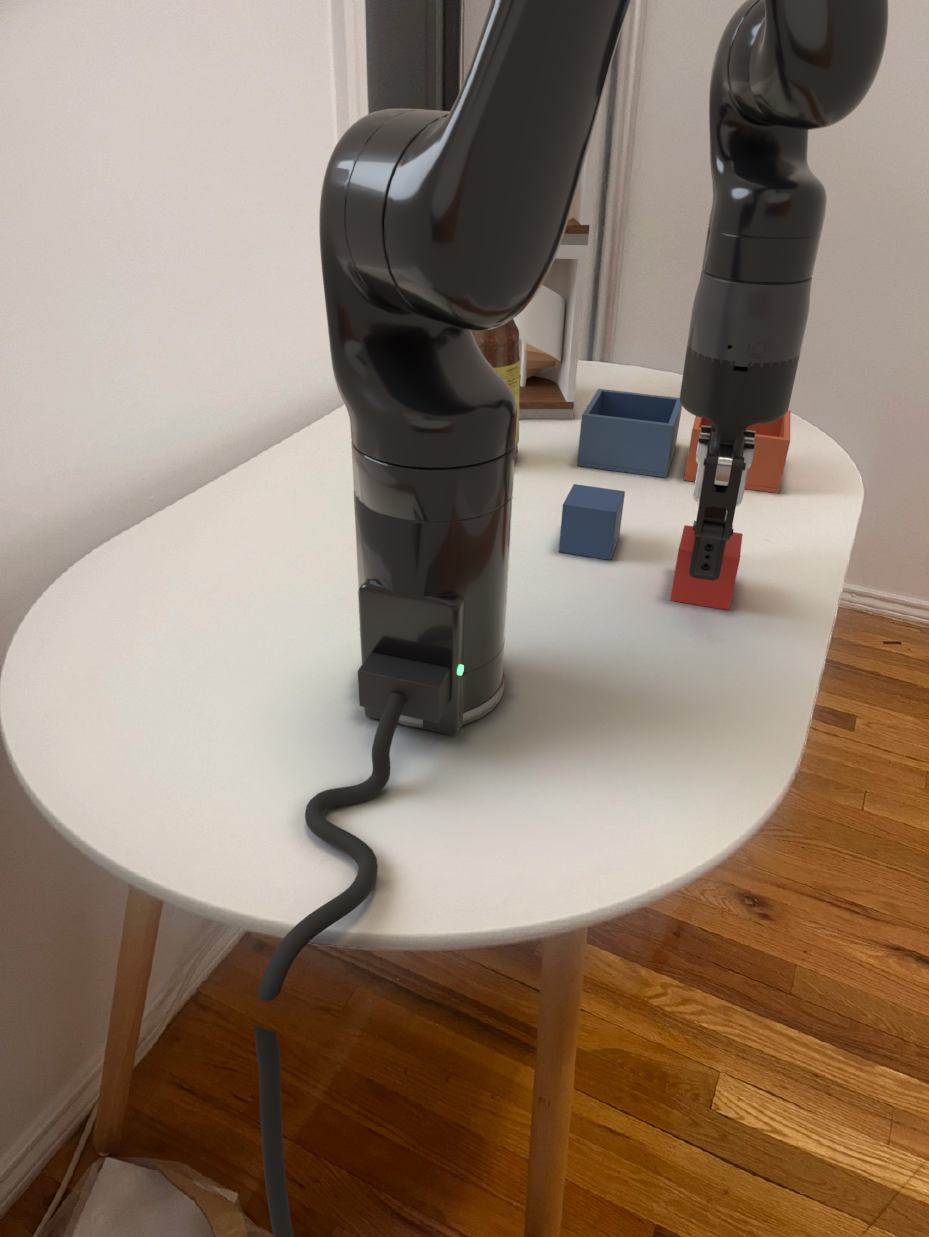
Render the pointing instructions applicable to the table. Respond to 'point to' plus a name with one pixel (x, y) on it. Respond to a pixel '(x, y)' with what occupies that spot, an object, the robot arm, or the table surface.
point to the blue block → (591, 521)
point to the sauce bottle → (503, 357)
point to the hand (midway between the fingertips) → (706, 551)
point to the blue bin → (629, 432)
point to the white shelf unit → (557, 315)
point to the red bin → (766, 457)
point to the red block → (701, 589)
